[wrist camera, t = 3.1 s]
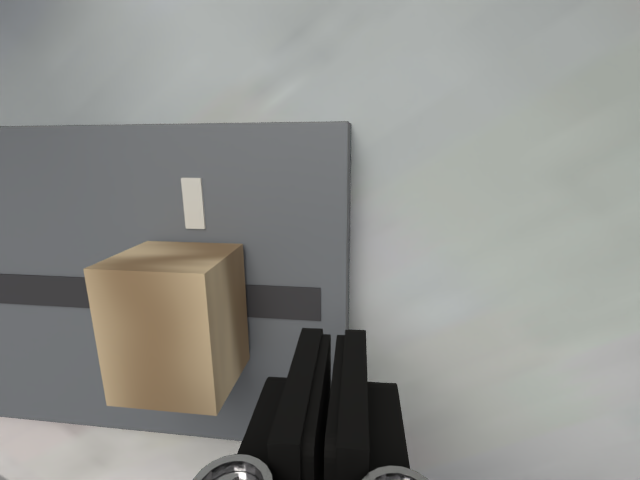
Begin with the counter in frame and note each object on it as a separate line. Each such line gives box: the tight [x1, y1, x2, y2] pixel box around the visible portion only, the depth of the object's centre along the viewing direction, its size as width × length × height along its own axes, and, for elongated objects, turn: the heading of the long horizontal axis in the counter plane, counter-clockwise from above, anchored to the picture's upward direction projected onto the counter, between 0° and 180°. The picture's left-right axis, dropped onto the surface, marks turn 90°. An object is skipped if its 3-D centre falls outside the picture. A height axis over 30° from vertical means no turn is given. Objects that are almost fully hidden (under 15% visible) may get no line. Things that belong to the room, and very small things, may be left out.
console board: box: [0, 121, 351, 441], centre depth 18 cm, size 26×14×2 cm, turn 90°
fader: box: [83, 241, 250, 416], centre depth 14 cm, size 4×5×4 cm
